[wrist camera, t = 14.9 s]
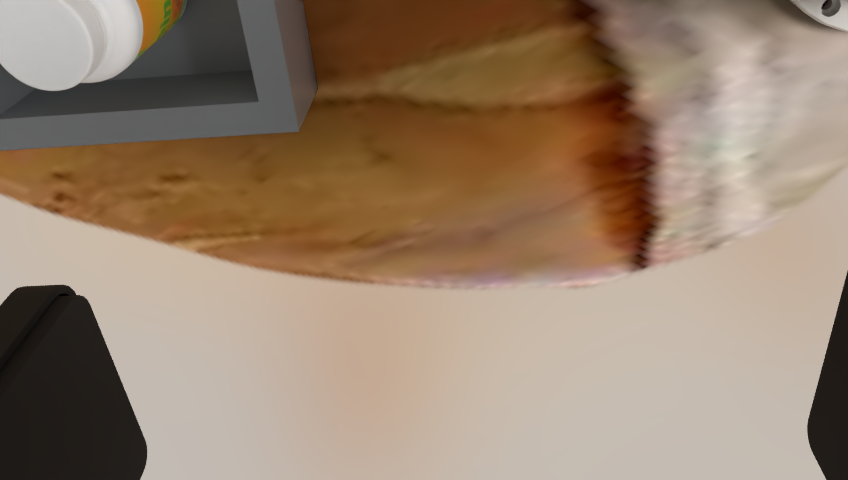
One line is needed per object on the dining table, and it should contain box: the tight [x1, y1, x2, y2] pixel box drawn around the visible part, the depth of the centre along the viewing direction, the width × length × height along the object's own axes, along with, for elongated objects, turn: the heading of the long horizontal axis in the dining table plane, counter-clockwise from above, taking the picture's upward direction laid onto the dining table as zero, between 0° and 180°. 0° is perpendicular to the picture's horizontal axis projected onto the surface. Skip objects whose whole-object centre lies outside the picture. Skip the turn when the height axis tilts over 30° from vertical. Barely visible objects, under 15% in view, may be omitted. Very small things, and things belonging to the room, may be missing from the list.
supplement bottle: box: [0, 0, 187, 91], centre depth 32 cm, size 5×5×10 cm
